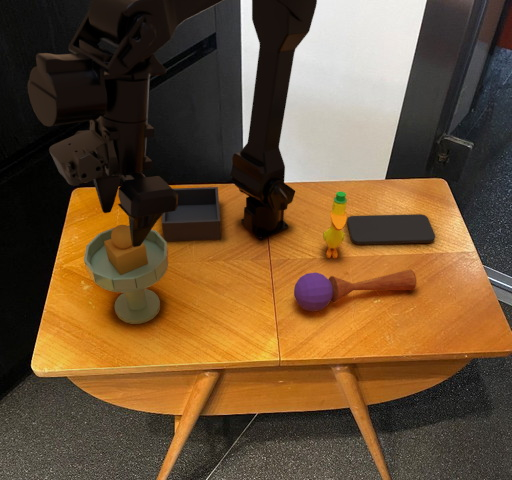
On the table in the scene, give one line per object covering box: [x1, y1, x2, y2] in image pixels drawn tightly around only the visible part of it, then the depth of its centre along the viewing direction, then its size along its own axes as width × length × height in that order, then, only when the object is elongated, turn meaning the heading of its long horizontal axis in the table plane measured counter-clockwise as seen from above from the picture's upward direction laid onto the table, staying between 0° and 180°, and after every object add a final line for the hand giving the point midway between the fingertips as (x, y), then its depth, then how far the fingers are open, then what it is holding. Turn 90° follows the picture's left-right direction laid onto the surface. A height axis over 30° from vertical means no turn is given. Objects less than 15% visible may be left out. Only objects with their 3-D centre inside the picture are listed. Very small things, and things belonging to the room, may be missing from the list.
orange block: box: [104, 224, 148, 275], centre depth 76 cm, size 4×4×6 cm
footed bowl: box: [83, 225, 170, 325], centre depth 81 cm, size 11×11×12 cm
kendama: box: [293, 269, 417, 312], centre depth 86 cm, size 6×6×20 cm
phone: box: [346, 213, 436, 245], centre depth 99 cm, size 7×1×15 cm
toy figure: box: [322, 191, 348, 259], centre depth 90 cm, size 7×4×12 cm, turn 177°
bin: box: [161, 186, 222, 242], centre depth 98 cm, size 10×10×4 cm
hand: (121, 228), depth 75 cm, fingers open, 9 cm apart
